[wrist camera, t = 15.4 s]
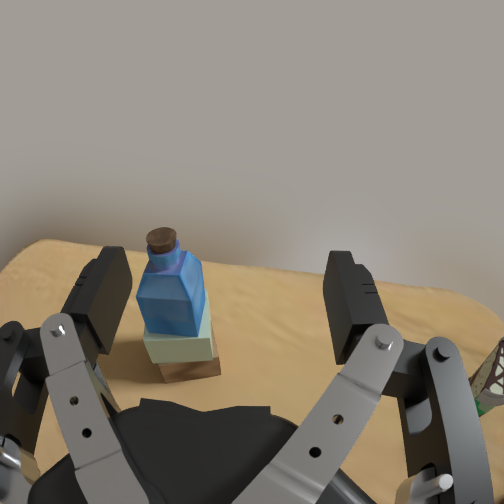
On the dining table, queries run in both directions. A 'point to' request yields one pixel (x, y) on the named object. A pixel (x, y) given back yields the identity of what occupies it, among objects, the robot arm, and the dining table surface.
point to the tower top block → (181, 343)
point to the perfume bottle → (171, 287)
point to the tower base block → (192, 367)
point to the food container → (489, 381)
